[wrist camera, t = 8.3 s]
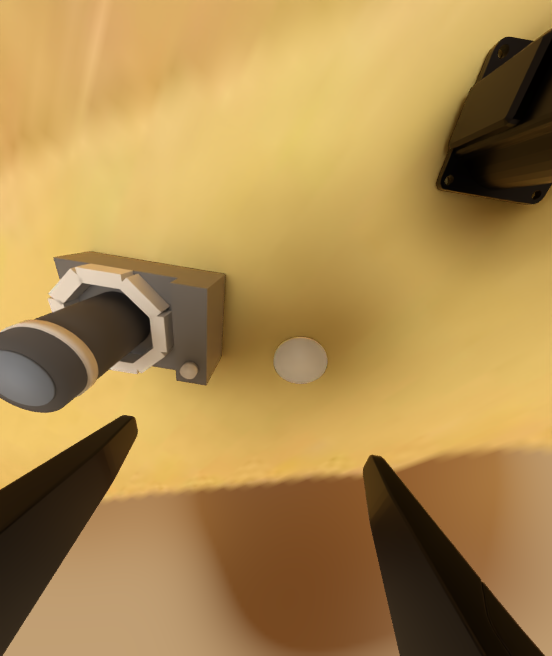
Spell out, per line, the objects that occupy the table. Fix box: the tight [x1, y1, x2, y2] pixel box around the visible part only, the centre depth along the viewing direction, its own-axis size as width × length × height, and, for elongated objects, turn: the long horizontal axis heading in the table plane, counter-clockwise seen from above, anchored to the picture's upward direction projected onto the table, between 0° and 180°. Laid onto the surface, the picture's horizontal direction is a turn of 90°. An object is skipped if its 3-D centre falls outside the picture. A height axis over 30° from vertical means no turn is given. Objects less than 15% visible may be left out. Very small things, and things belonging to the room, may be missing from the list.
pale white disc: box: [274, 337, 328, 384], centre depth 21 cm, size 5×5×1 cm
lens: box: [0, 291, 151, 413], centre depth 14 cm, size 5×5×7 cm
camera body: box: [48, 251, 225, 385], centre depth 17 cm, size 11×8×5 cm
